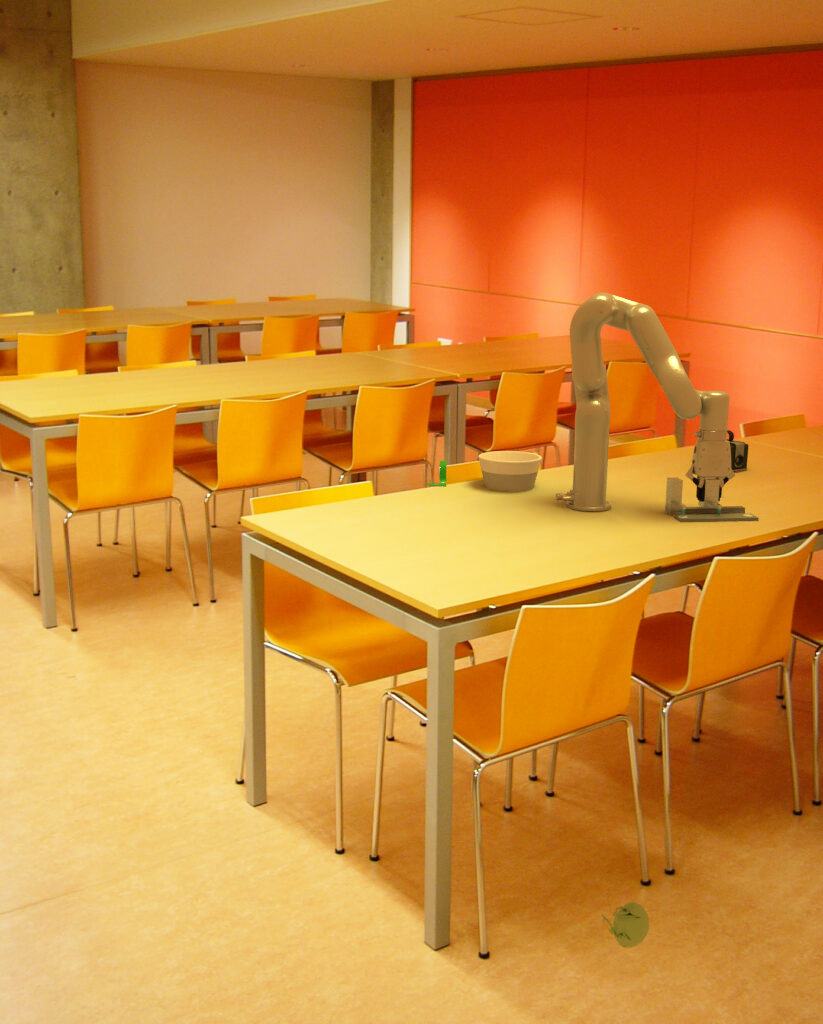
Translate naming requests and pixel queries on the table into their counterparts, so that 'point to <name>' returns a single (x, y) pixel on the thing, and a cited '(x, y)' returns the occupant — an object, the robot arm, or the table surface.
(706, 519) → the gauge plate
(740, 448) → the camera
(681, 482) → the rail with fixed leg
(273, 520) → the table surface
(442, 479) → the mechanical part
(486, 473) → the bowl
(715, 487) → the sliding leg
